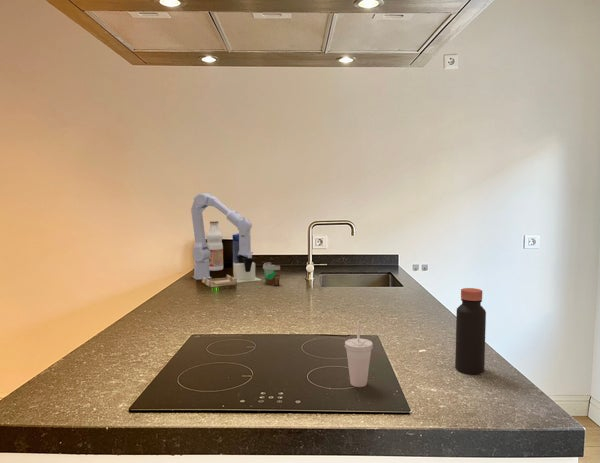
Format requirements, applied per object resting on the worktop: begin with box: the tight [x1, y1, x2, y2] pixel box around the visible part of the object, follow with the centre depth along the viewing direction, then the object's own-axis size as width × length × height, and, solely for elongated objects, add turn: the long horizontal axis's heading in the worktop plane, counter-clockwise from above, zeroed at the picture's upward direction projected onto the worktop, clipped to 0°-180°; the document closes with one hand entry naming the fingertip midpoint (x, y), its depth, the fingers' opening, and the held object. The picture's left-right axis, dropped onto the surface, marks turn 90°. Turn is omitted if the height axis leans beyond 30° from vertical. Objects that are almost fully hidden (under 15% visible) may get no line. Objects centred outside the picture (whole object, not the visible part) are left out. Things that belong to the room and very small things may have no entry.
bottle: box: [454, 287, 487, 375], centre depth 112 cm, size 7×7×20 cm
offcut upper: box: [213, 280, 231, 284], centre depth 218 cm, size 4×8×1 cm, turn 120°
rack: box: [201, 274, 238, 288], centre depth 222 cm, size 14×13×3 cm
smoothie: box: [344, 322, 374, 388], centre depth 104 cm, size 6×6×14 cm
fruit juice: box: [205, 220, 224, 272], centre depth 263 cm, size 9×9×28 cm
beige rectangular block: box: [233, 261, 256, 281], centre depth 231 cm, size 4×10×8 cm, turn 118°
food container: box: [262, 261, 281, 287], centre depth 219 cm, size 12×6×10 cm, turn 25°
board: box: [237, 276, 263, 284], centre depth 232 cm, size 13×13×1 cm
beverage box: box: [231, 232, 239, 277], centre depth 247 cm, size 7×11×22 cm, turn 173°
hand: (245, 270), depth 232 cm, fingers open, 7 cm apart
